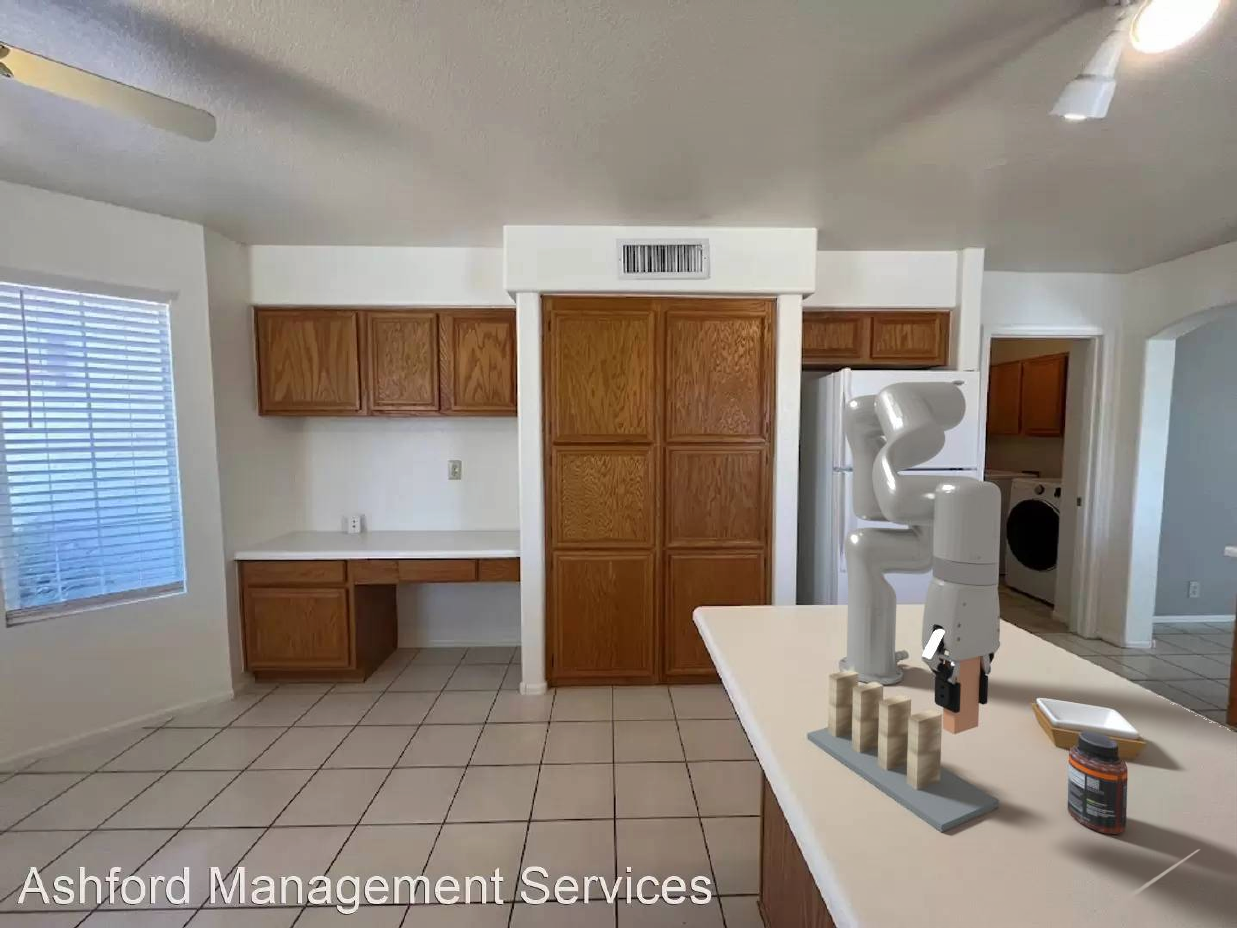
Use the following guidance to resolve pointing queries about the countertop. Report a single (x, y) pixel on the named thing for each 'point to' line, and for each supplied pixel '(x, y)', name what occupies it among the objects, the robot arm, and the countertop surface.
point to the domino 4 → (924, 748)
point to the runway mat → (931, 803)
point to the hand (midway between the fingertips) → (960, 702)
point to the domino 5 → (965, 698)
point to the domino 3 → (893, 731)
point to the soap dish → (1086, 725)
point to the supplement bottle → (1097, 784)
